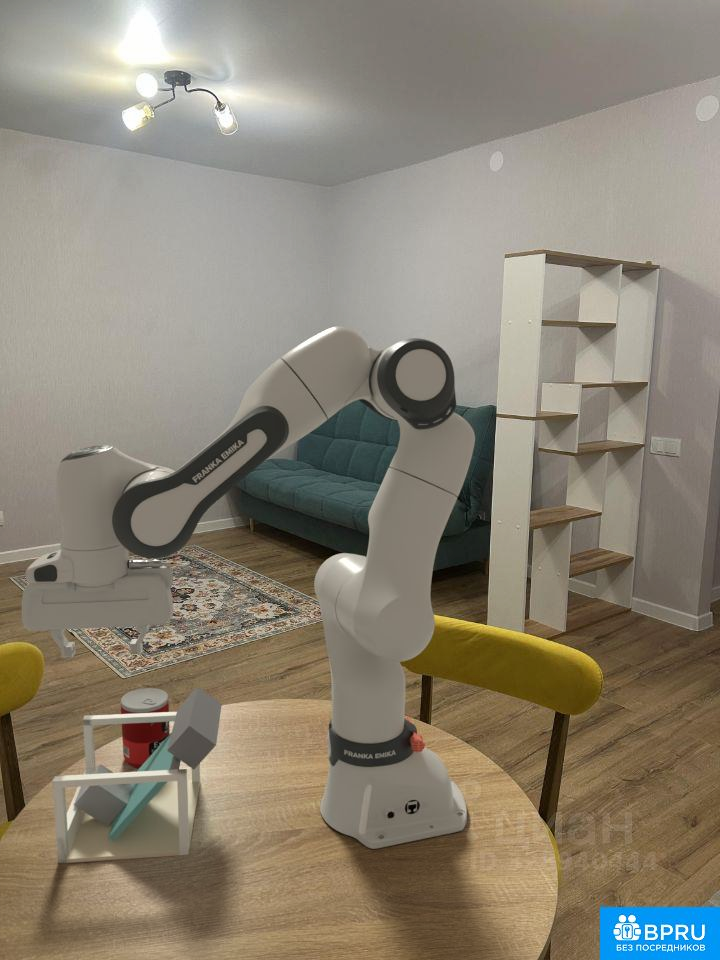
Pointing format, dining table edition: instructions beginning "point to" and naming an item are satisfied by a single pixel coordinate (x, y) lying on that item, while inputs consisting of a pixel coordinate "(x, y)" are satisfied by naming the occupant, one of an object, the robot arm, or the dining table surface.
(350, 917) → the dining table surface
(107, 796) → the grey block
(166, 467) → the robot arm
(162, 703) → the canned food
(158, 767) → the trapdoor
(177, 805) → the frame
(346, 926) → the dining table surface
